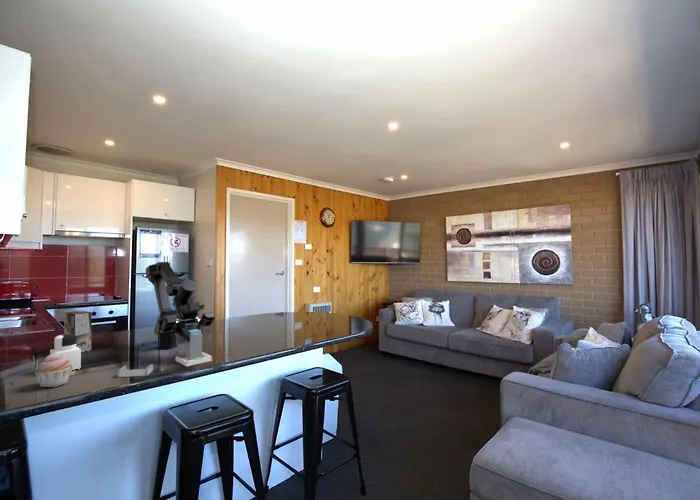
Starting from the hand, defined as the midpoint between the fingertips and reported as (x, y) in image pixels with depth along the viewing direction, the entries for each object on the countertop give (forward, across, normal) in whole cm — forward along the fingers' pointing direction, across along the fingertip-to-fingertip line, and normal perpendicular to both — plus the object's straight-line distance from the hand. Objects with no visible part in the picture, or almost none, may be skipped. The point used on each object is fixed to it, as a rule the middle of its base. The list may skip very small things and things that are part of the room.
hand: (195, 340), depth 135 cm
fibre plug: (+4, 0, +6) cm, 7 cm away
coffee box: (-29, -28, +41) cm, 57 cm away
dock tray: (+5, 0, +6) cm, 8 cm away
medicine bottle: (-10, -35, +22) cm, 43 cm away
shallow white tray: (+5, -20, +6) cm, 21 cm away
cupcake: (+1, -40, +11) cm, 42 cm away
